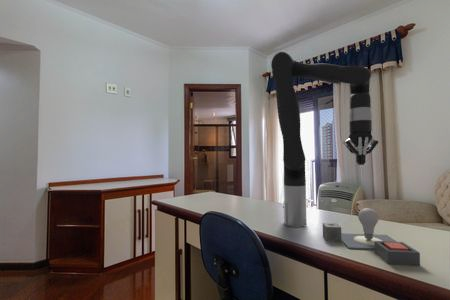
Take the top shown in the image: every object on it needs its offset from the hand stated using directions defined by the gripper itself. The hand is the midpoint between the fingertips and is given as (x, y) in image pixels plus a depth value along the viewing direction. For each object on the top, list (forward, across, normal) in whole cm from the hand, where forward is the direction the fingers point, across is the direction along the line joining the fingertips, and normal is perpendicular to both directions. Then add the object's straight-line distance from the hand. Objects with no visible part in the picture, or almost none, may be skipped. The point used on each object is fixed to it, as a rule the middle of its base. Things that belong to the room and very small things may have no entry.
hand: (360, 164), depth 93 cm
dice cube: (+27, +14, +6) cm, 31 cm away
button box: (+26, +3, +23) cm, 35 cm away
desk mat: (+26, +3, +10) cm, 28 cm away
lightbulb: (+26, +3, +9) cm, 28 cm away
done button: (+25, +3, +23) cm, 34 cm away
